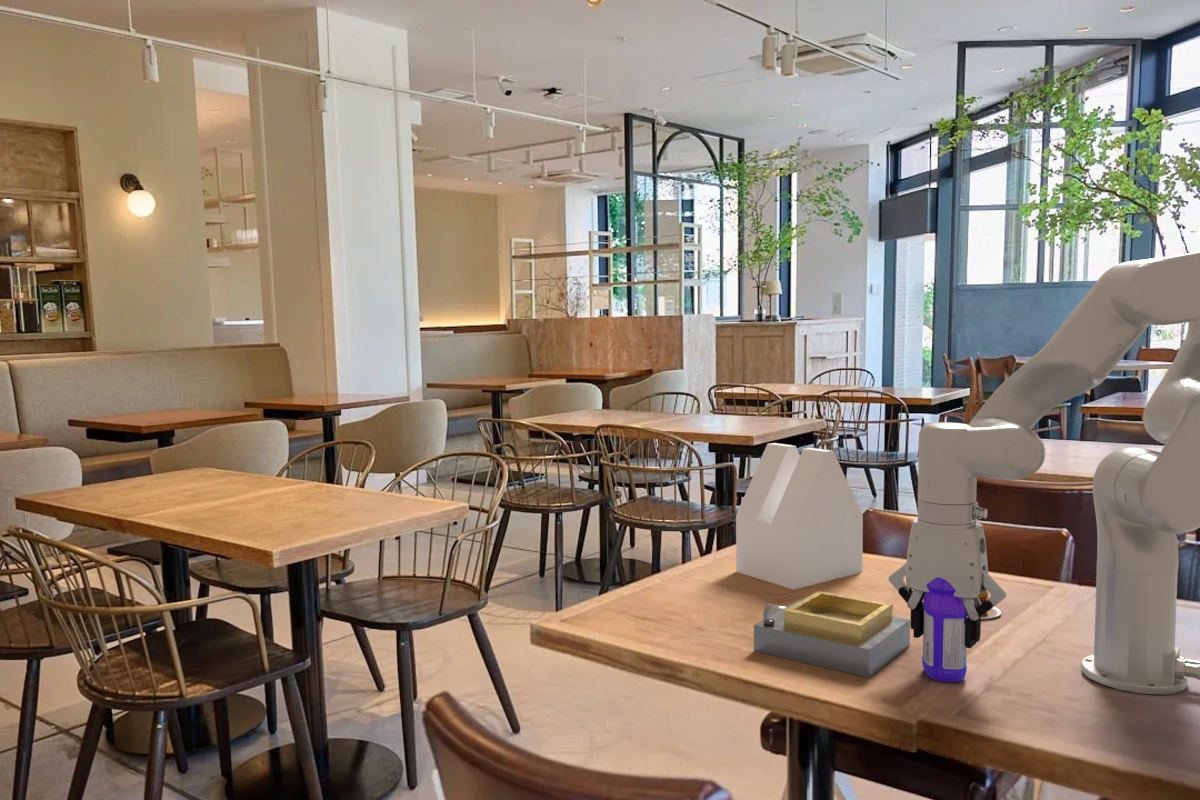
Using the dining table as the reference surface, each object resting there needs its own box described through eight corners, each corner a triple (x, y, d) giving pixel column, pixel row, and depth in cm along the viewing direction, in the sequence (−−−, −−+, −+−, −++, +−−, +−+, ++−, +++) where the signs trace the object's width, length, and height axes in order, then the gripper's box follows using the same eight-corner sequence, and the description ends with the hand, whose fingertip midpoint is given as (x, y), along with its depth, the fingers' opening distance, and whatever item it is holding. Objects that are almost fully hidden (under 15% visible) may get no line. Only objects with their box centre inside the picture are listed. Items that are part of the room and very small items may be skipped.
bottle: (970, 686, 124) (973, 560, 122) (926, 683, 125) (928, 558, 124) (960, 666, 131) (963, 546, 129) (919, 664, 132) (920, 545, 131)
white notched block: (803, 557, 193) (804, 439, 191) (862, 572, 181) (863, 446, 179) (736, 572, 182) (735, 447, 180) (793, 590, 170) (793, 456, 168)
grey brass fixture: (909, 644, 140) (910, 603, 139) (869, 677, 127) (869, 632, 127) (779, 618, 153) (779, 580, 153) (730, 645, 141) (730, 604, 140)
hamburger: (988, 632, 147) (989, 599, 146) (920, 614, 156) (921, 583, 156) (1024, 616, 154) (1025, 584, 154) (957, 600, 164) (958, 570, 163)
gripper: (1021, 515, 124) (1018, 645, 125) (894, 501, 134) (893, 621, 136) (1005, 525, 118) (1003, 661, 119) (874, 510, 128) (873, 635, 130)
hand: (944, 639), depth 128 cm, fingers closed on bottle, 6 cm apart
